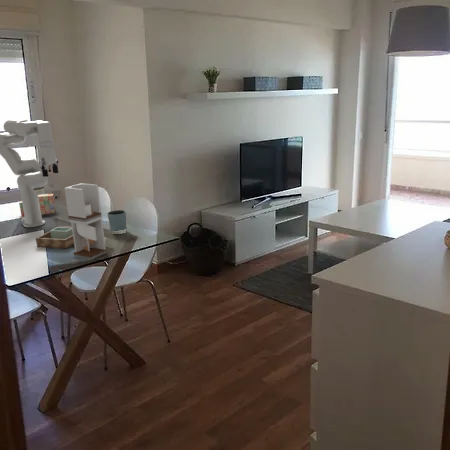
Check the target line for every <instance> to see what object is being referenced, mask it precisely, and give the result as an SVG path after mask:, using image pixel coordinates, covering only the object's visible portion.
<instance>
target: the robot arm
mask: <svg viewBox="0 0 450 450" xmlns="http://www.w3.org/2000/svg"><path fill="white" fill-rule="evenodd" d="M51 125H52V124H51V122H50V121H43V120H34V121H32V120H31V121H29V120H27V119H26V118H15V119H8V120H6V121H5V122H4V124H3V130H4V132H0V156H1V157H2V158H3V159H4V160H5V162H6V163H7V166H8V167H9V168H10V170H11V172H12V173H13V174H14V176H18V177H17V179H16V183H17V186H18V189H19V193H20V198H21V201H22V203H23V209H24V215H25V216H21V218H20V222H23V224H22V225H23V227H25V228H35V227H40V226H43V225H45V224H46V221H45V220H44V219H43V217H42V216H43V215H41V210H40V204H39V198H38V194H37V193H36V192H35V191H34V190H33V189H34V188H38V187H42V186H44V187H45V186H46V185H47V184H48V177H49V171H48V169H47V168H48V166H51V165H52V166H51V167H52V173H53V174H59V166H58V165H59V157H58V156H57V155H56V149H55V145H54V139H53V134H52V132H53V131H52V126H51ZM29 136H37V139H38V141H37V142H38V146H39V148H38V159H39V162H38V160H37V159H35V158H34V157H24V158H23V157H21V155H20V154H19V153H18V151H16V150H15V149H13V148H12V147H16V146H21V145H23V144H24V143H25V142H26V140H27V137H29Z"/></svg>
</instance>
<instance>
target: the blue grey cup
mask: <svg viewBox="0 0 450 450" xmlns="http://www.w3.org/2000/svg"><path fill="white" fill-rule="evenodd" d="M126 215H127V212H126V210H124V209H123V210H122V209H119V210H118V209H115V210H111V211H108V212H107V218H108V221H109V227H110V232H111V231H119V230H124V229H128V228H127V227H128V226H127V216H126Z"/></svg>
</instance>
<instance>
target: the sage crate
mask: <svg viewBox="0 0 450 450" xmlns="http://www.w3.org/2000/svg"><path fill="white" fill-rule="evenodd" d="M49 231H50V232H51V239H66V238H68V237H70V236H71V235H73V232H72V228H65V227H59V226H57V227H55V228H53V229H50V230H49Z"/></svg>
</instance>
